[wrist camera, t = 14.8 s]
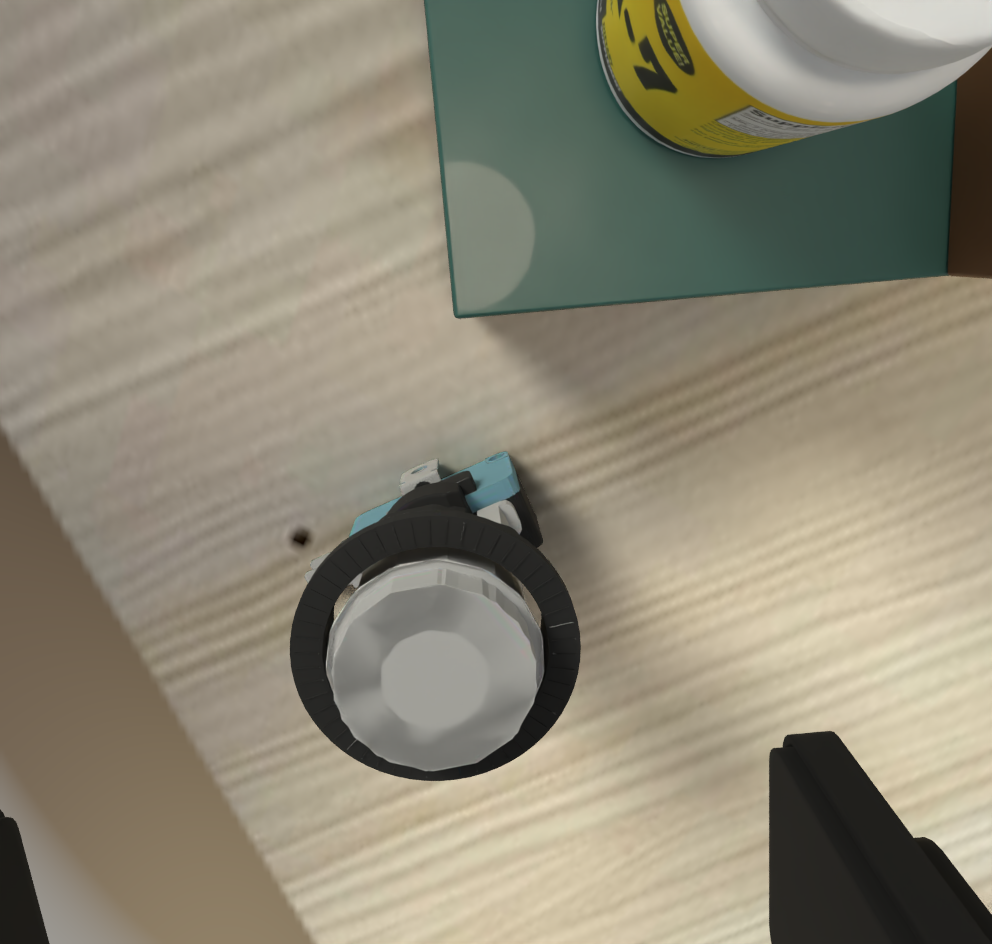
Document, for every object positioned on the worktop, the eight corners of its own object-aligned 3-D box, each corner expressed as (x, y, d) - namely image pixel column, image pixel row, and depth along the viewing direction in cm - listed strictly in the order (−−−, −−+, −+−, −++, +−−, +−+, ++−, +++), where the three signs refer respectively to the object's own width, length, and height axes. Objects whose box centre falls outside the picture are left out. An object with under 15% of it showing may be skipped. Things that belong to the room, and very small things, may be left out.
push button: (357, 641, 25) (296, 883, 16) (274, 482, 24) (151, 641, 14) (565, 553, 25) (633, 746, 15) (491, 386, 24) (515, 483, 14)
